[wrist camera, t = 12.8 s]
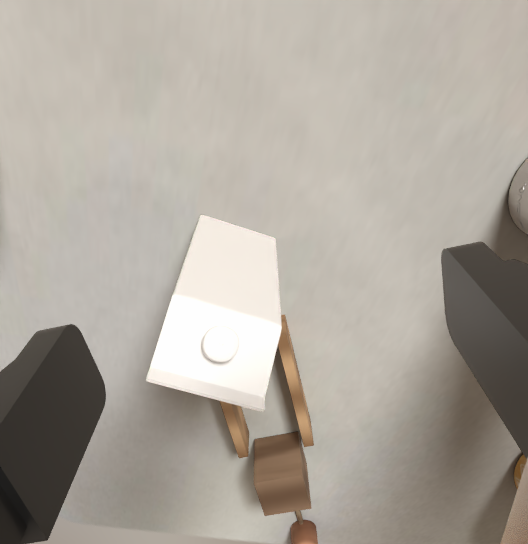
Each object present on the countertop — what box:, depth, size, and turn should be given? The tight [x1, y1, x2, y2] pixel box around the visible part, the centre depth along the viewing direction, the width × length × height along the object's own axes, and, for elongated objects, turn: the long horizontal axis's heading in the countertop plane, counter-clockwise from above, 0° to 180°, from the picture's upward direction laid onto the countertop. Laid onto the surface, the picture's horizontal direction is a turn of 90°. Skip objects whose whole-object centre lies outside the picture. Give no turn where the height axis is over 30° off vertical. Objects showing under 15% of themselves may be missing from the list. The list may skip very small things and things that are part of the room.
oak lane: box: [220, 315, 314, 458], centre depth 50 cm, size 14×8×4 cm, turn 13°
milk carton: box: [146, 215, 282, 412], centre depth 37 cm, size 7×7×19 cm
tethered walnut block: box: [254, 432, 318, 544], centre depth 56 cm, size 18×5×6 cm, turn 13°
